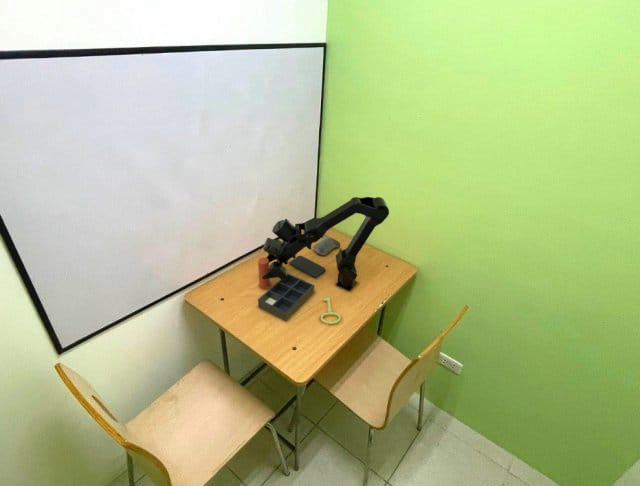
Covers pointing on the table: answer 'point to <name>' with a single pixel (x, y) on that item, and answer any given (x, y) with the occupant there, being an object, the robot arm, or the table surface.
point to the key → (329, 313)
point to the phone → (307, 266)
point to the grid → (286, 296)
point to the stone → (326, 245)
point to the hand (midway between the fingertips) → (263, 270)
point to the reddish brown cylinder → (263, 272)
